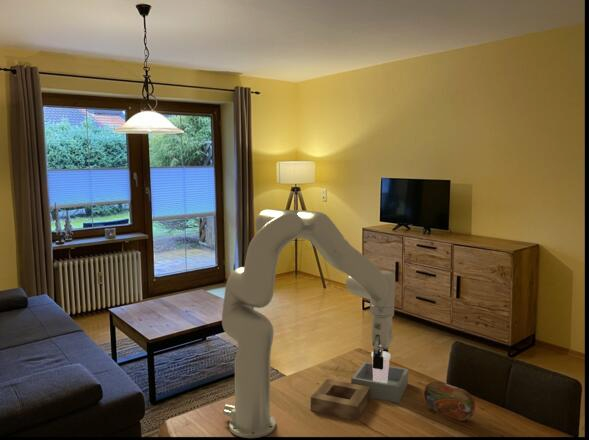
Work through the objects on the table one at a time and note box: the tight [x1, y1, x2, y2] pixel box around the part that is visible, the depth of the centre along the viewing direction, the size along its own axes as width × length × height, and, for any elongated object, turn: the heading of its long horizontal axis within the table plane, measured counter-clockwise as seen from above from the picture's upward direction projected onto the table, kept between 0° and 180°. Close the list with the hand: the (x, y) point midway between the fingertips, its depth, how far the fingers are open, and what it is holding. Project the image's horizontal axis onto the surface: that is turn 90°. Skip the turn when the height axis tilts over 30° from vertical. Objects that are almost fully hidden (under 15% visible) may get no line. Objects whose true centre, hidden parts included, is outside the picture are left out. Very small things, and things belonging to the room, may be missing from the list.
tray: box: [350, 361, 409, 404], centre depth 153 cm, size 15×15×5 cm
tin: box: [423, 381, 476, 422], centre depth 137 cm, size 15×3×8 cm, turn 42°
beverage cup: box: [370, 345, 391, 383], centre depth 152 cm, size 6×6×14 cm
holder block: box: [310, 378, 371, 421], centre depth 142 cm, size 14×14×4 cm
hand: (380, 364), depth 152 cm, fingers closed on beverage cup, 6 cm apart
